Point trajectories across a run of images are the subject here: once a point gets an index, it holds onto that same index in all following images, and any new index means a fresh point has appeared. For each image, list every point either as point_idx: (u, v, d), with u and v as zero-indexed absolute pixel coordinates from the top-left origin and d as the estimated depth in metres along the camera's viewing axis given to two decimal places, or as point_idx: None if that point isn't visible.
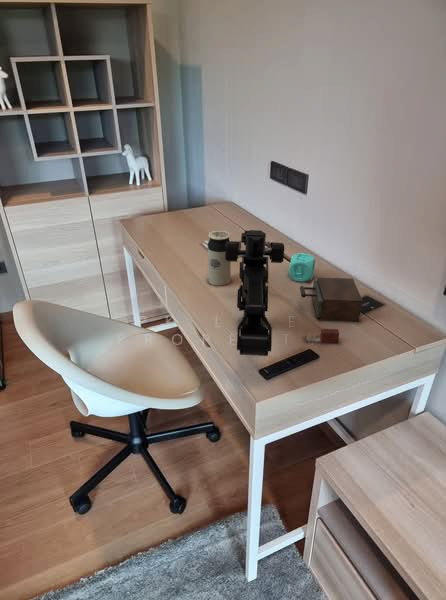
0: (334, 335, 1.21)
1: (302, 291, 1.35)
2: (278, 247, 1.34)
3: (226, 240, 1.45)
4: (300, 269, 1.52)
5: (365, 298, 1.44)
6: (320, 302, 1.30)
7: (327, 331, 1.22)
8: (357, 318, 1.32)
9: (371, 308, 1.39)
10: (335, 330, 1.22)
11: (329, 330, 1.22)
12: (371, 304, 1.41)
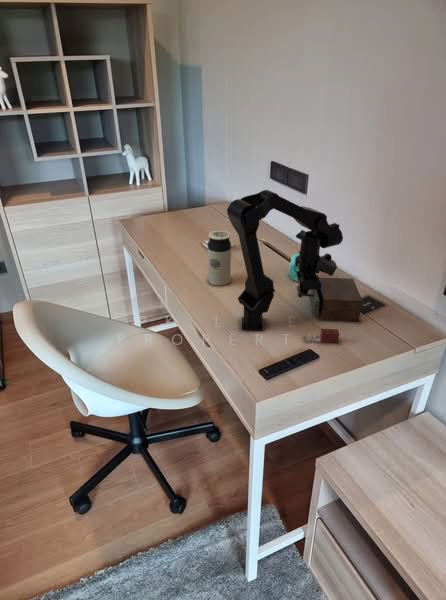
0: (334, 335, 1.21)
1: (299, 291, 1.35)
2: (319, 279, 1.25)
3: (226, 240, 1.45)
4: None
5: (366, 298, 1.44)
6: (317, 302, 1.30)
7: (327, 331, 1.22)
8: (357, 318, 1.32)
9: (372, 308, 1.38)
10: (335, 330, 1.22)
11: (329, 330, 1.22)
12: (372, 304, 1.41)
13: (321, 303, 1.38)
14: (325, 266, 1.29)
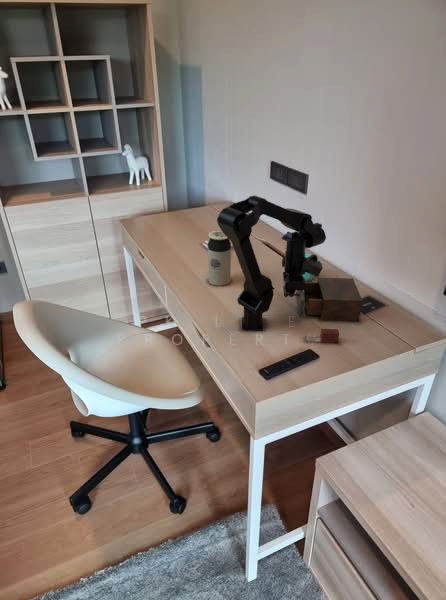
0: (334, 335, 1.21)
1: (285, 290, 1.35)
2: (304, 280, 1.26)
3: (226, 240, 1.45)
4: None
5: (367, 298, 1.44)
6: (302, 301, 1.30)
7: (327, 331, 1.22)
8: (357, 318, 1.32)
9: (372, 308, 1.38)
10: (335, 330, 1.22)
11: (329, 330, 1.22)
12: (372, 304, 1.41)
13: (307, 303, 1.38)
14: (311, 267, 1.29)
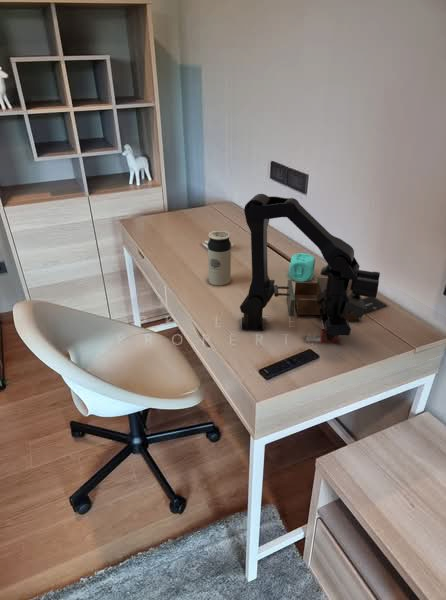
0: None
1: (275, 290, 1.35)
2: (347, 324, 1.12)
3: (226, 240, 1.45)
4: (300, 269, 1.52)
5: (369, 299, 1.44)
6: (292, 301, 1.31)
7: None
8: (357, 318, 1.32)
9: (373, 308, 1.38)
10: None
11: None
12: (374, 304, 1.41)
13: (298, 302, 1.38)
14: (354, 308, 1.15)
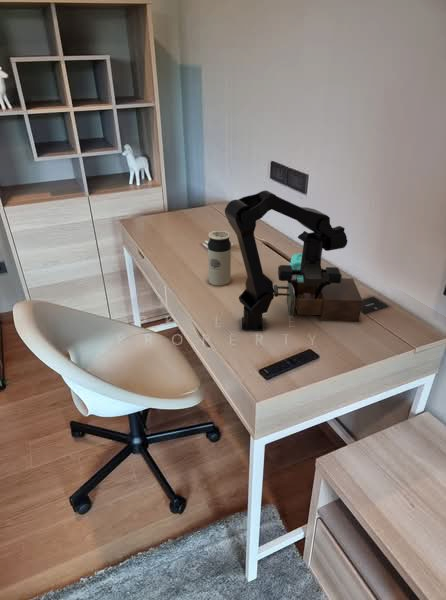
0: None
1: (275, 290, 1.35)
2: (285, 272, 1.28)
3: (226, 240, 1.45)
4: None
5: (370, 299, 1.44)
6: (292, 301, 1.31)
7: (306, 295, 1.35)
8: (357, 318, 1.32)
9: (374, 309, 1.38)
10: (308, 298, 1.34)
11: (308, 296, 1.35)
12: (375, 304, 1.41)
13: (298, 302, 1.38)
14: (304, 271, 1.25)
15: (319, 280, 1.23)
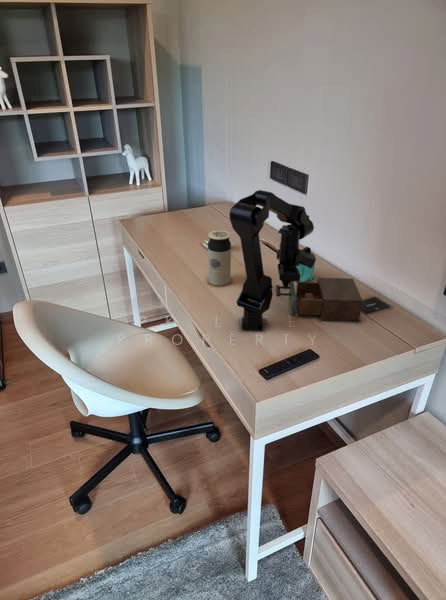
0: None
1: (277, 290, 1.35)
2: (298, 271, 1.30)
3: (226, 240, 1.45)
4: (300, 269, 1.52)
5: (372, 299, 1.44)
6: (294, 301, 1.31)
7: (308, 295, 1.35)
8: (357, 318, 1.32)
9: (375, 309, 1.38)
10: (310, 298, 1.34)
11: (310, 296, 1.35)
12: (376, 305, 1.40)
13: (300, 302, 1.38)
14: (304, 259, 1.33)
15: None
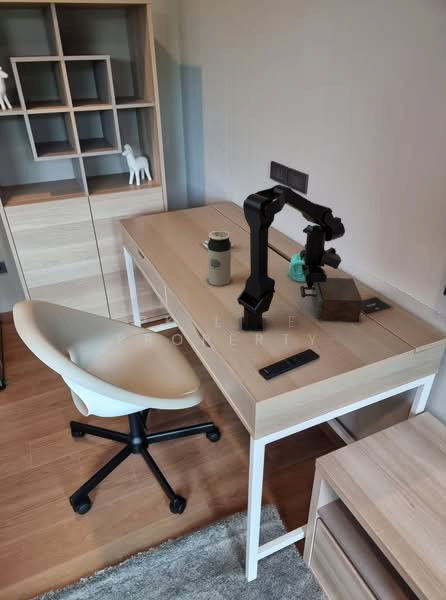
0: None
1: (302, 291, 1.35)
2: (324, 272, 1.30)
3: (226, 240, 1.45)
4: (300, 269, 1.52)
5: (373, 299, 1.44)
6: (320, 302, 1.30)
7: None
8: (357, 318, 1.32)
9: (376, 309, 1.38)
10: None
11: None
12: (377, 305, 1.40)
13: None
14: (330, 259, 1.33)
15: None
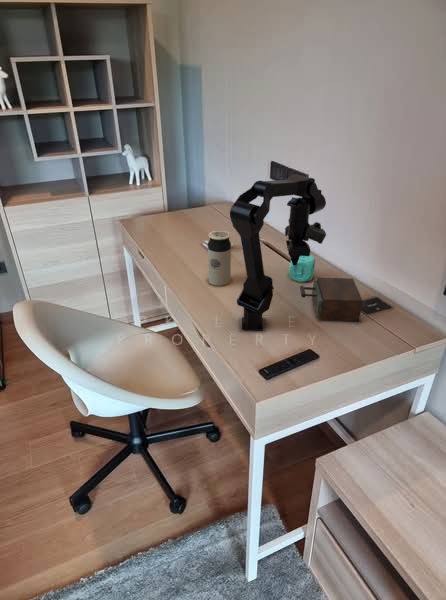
0: None
1: (302, 291, 1.35)
2: (308, 246, 1.26)
3: (226, 240, 1.45)
4: (300, 269, 1.52)
5: (374, 299, 1.43)
6: (320, 302, 1.30)
7: None
8: (357, 318, 1.32)
9: (376, 309, 1.38)
10: None
11: None
12: (377, 305, 1.40)
13: None
14: (314, 233, 1.29)
15: None
